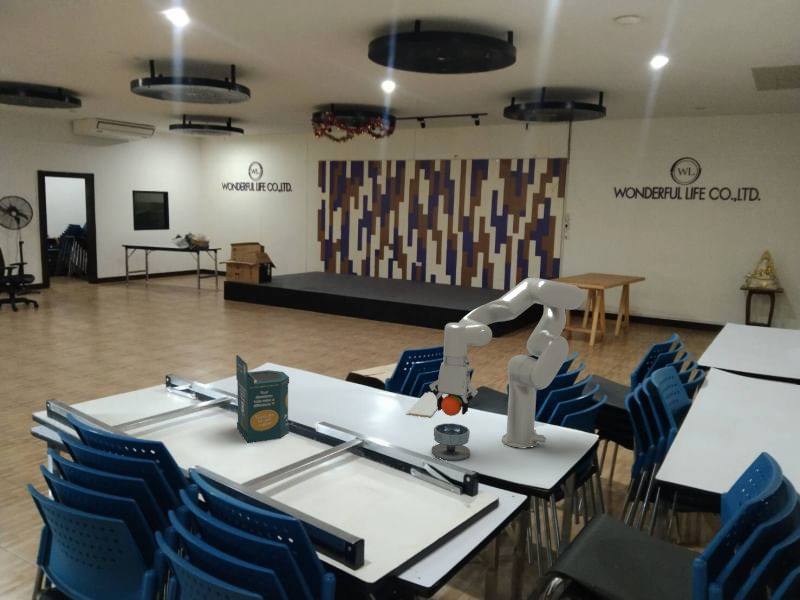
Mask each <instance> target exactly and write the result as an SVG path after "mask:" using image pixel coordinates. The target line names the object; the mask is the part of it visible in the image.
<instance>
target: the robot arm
mask: <svg viewBox="0 0 800 600" xmlns="http://www.w3.org/2000/svg"><path fill="white" fill-rule="evenodd" d="M583 301H584V294H583V291H582V289H581V288H580V287H578V286H577V285H574V284H568V283H563V282H557V281H553V280H549V279H545V278H544V279H543V278H538V277H533V276H531V277H526V278H524V279H523V280H522V281H521V282H519V283H517V284H516V285H515V286H514V287H513V288H512V289H510V290H508V291H507V292H506V293H505V294H503V295H502V296H501V297H499V298H498V299H495V300H492V301H490V302H488V303H485V304H483V305H480V306H479V307H477V308H475V309H473V310H471V311H470V312H469V313H467V314H466V315H464V316H463V317H462V318H461V320H459V321H458V322H448V323H447V324H446V325H445V326H444V334H443V335H444V338H443V359H442V360H443V361H442V362H440V363H441V364H440V368H439V373H438V379H437V380H435V381H434V382H432V383H431V384H429V388H430V390H431V391H432V393H433V394H434V395H435V396H436V398H437V407H438V409H437V411H439V412H440V411H441V410H442V408H441V403H442V400H443V397H442V395H443V394H448V395H455V396H459V397H460V398H462V401H463V402H462V408H461V415H465V414H466V413H467V412H468V411H469V402H470V401H471V400H472V399H474V397H475V396H476V395H477V394H479V392H478V390H477V389H476V388H475V387H474V386H473V385H472V384H471V379H470V367H469V364H470V362H471V358H468V356H467V348H468V347H467V346H475V347H482V346H486V345H487V344H489V343H490V342H491V340H492V339H493V331H492V329H491V328H490V327H489V326H488V325H490V324H493V323H497V322H499V323H500V322H506V321H511V320H514V319H516V318H517V317H518V316H520V315H521V314H522V313H524V312H525V311H526V310H527V309H529V308H530V307H531V306H533V305H534V304H539V305H543V314H542V316H541V318H540V320H539V322H537V323H538V324H536V326H535V328H534V329H533V331H532V333H531V334H530V336H529V338H528V339H527V342H526V349H527V351H528V353H530V354H531V355H533V356H534V357H538V358H537V359H536V358H534V357H531V356H528V355H526V354H525V355H524V354H518V355H514V356H513V357H511V359H510V360H509V362H508V364H507V367H506V368H507V377H508V378H507V379H508V380H507V381H508V402H507V403H508V404H507V416H506V417H507V419H506V420H507V422H506V433H505V434H504V435H502V436H501V442H502V444H504V445H507V446H508V445H509V447H511V446H512V448H515V447H531V446H535V445H536V444H537V443H539V442H540V443H544V444H545V443H546V442H547V437H546V436H544V435H543V434H538V433H537V429H535V423H536V422H535V418H536V404H537V403H536V401H537V390H543V389H546V388H547V387H548V386H550V384H551V383H552V382H553V380H554V379H555V377H556V376H557V375H558V373H559V370H560V369H561V368H562V366H563V364H564V363H565V361H566V359H567V357H568V355H569V349H570V347H569V343H568V341H567V339H566V338H565V337H564V336H562V335H561V334H562V332H563V330H564V328H565V327H566V323H567V314H566V310H570V311H571V310H573V311H574V310H576V309H578V308H579V307H581V305H582V303H584V302H583ZM468 363H469V364H468ZM436 386H437V388H436ZM469 392H471V394H469V395H468V393H469ZM537 445H538V444H537ZM537 445H536V446H537ZM536 446H535V447H536Z"/></svg>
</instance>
